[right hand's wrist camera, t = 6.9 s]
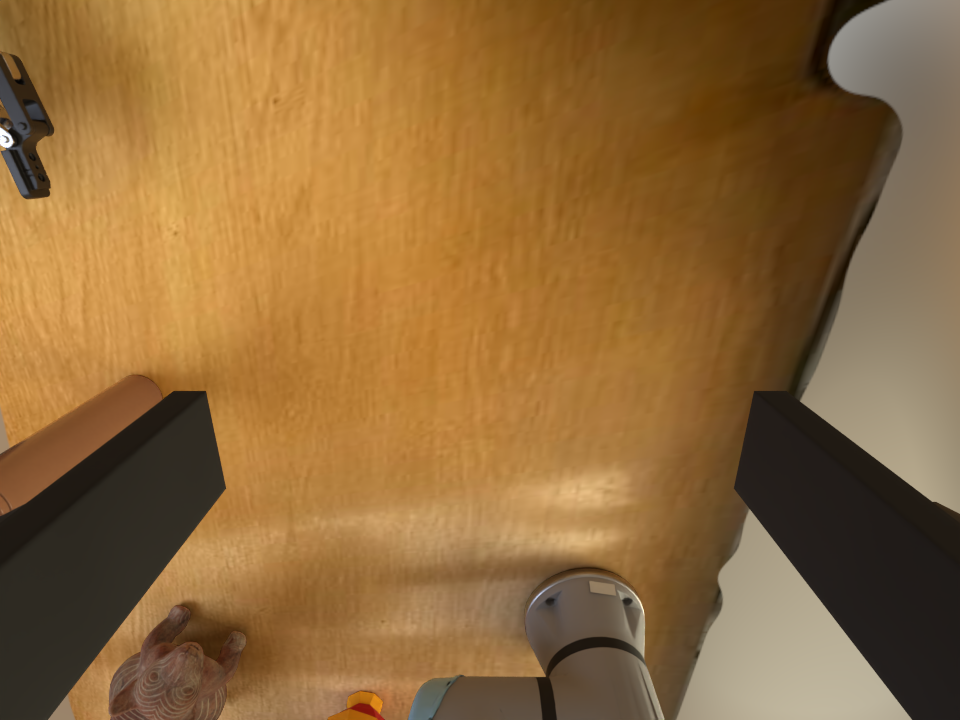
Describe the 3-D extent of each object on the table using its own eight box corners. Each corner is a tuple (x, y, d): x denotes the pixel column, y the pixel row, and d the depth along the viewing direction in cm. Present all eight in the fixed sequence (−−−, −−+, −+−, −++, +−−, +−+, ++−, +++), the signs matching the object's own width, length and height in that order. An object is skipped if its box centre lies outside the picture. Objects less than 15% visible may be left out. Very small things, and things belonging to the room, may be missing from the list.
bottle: (138, 421, 58) (-96, 602, 35) (108, 387, 57) (-160, 551, 33) (171, 402, 57) (-45, 574, 34) (141, 367, 56) (-108, 521, 32)
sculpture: (278, 591, 67) (225, 705, 53) (221, 710, 75) (162, 837, 61) (172, 552, 65) (87, 660, 51) (125, 679, 73) (40, 803, 59)
